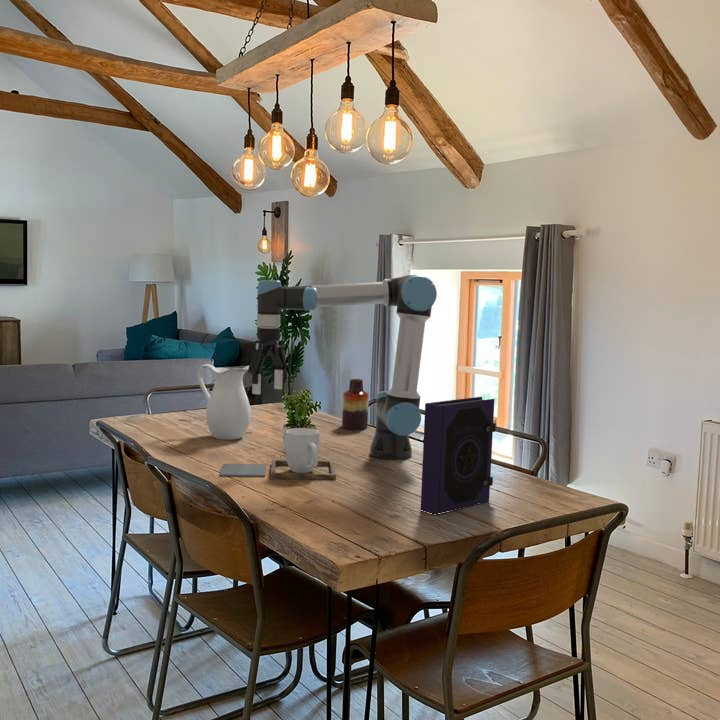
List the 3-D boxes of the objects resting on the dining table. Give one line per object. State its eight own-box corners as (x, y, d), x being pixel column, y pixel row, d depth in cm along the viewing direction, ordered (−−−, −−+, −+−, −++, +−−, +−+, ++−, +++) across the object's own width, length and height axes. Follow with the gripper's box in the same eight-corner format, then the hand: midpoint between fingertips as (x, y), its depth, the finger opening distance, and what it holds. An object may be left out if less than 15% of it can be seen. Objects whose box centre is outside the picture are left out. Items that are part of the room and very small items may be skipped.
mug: (330, 475, 246) (332, 435, 244) (300, 479, 240) (301, 438, 238) (307, 465, 258) (308, 427, 257) (278, 468, 252) (279, 429, 251)
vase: (367, 430, 322) (369, 381, 319) (341, 429, 322) (343, 380, 319) (367, 425, 332) (369, 378, 330) (342, 424, 332) (344, 377, 330)
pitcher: (258, 436, 301) (260, 365, 298) (229, 443, 287) (230, 369, 284) (213, 428, 314) (214, 360, 311) (183, 434, 300) (184, 363, 297)
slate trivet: (266, 465, 255) (266, 464, 255) (264, 476, 242) (265, 474, 242) (223, 465, 254) (223, 463, 254) (219, 476, 240) (219, 474, 240)
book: (436, 516, 207) (441, 406, 204) (419, 510, 212) (424, 402, 209) (491, 501, 223) (497, 399, 220) (474, 496, 227) (480, 396, 224)
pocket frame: (332, 465, 260) (333, 460, 259) (336, 479, 241) (336, 474, 241) (272, 464, 258) (272, 459, 258) (270, 478, 240) (270, 473, 239)
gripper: (278, 325, 265) (277, 386, 268) (237, 328, 243) (236, 395, 245) (297, 326, 262) (296, 387, 265) (257, 329, 240) (256, 397, 242)
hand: (267, 391), depth 255 cm, fingers open, 13 cm apart
